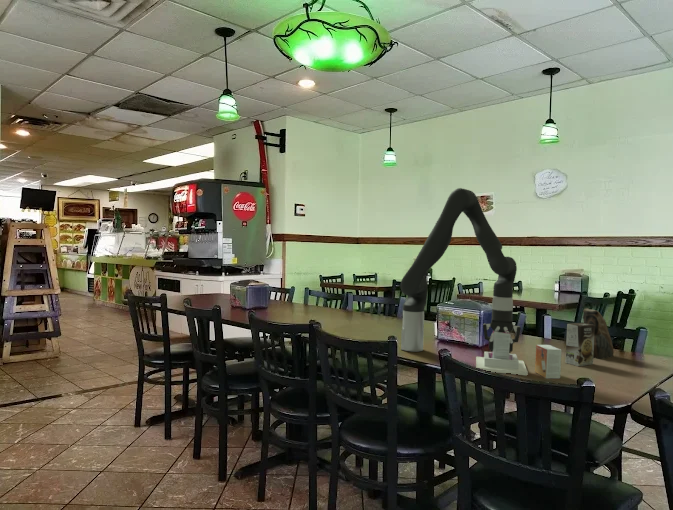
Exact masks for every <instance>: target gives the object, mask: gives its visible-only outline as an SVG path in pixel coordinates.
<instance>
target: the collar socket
mask: <svg viewBox="0 0 673 510" xmlns="http://www.w3.org/2000/svg"><path fill="white" fill-rule="evenodd" d="M483 352H484V353H483V356H476V357H475V359H476V360H475V369H476V368H480V369H483V370H486V371H491V372H490V373H495V372H496V373H497V374H506V373H511V374H510V375H516V374H518V375H517V376H519V375H520V376H527V375H529V372H528V369H527V367H526V365H525V362H524V360H519V358H518V356H517V354H516V353H509V360H508V359H496V358H492V351H483Z"/></svg>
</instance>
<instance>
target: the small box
mask: <svg viewBox="0 0 673 510" xmlns="http://www.w3.org/2000/svg"><path fill="white" fill-rule="evenodd" d="M535 346H536V347H535V361H534V363H535V364H534V365H535V366H534V373H537V374H538V375H540V376H542V378H544V379H561V371H562V369H561V368H562V367H561V366H562V351H563V350H562V349H561V348H558V347H555V346H554V345H551V344H536V345H535Z"/></svg>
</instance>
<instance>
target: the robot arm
mask: <svg viewBox="0 0 673 510" xmlns="http://www.w3.org/2000/svg"><path fill="white" fill-rule="evenodd" d="M462 213H463V214H464V215H465V217H467V218H468V219H469V221H470V223H471V225H472V228H473V230H474V235H475V238H476V241H477V242H478V243H479V245H480V247H481V249H482V250H483V252H484V253H485V256H486V259H487V262H488V265H489V267H490V269H491V270H492V272H493V273H494V274H496V275H498V278H497V280H496V281H495V282H494V284H493V291H492V292H493V293H492V303H491V321H490V323H485V322H484V323H483V324H482V325H483V326H482V327H483V336H484V340H486V341H488V349H489V350H490V352H492V351H493V339H494V333H493V332H504V333H511V331H512V330H513V329H514V332H515V335H514V338H513V337H512V336H511V334H510V348H509V354H512V352H513V349H514V348H513V347H514V346H513V345H514V344H515V343H519V339H520V334H521V326H520V325H514V324H513V315H514V313H513V312H514V311H513V310H514V309H513V308H514V302H513V300H514V299H513V295H514V292H513V291H514V290H513V289H514V284H515V280H516V275H517V271H518V270H517V269H518V268H517V262H516V260H515V259H514V258H513V257H511V256H505V255H504V253H503V251H502V249H503V245H502V243H501V241H500V239H499V238H498V236H497V235H496V233H495V232H494V231H495V230H493V229H492V226H491V225H490V223H489V221H488V219H487V217H486V215H485V214H484V211H483V209H482V207H481V203H480V202H479V200H478V198H477V195H476V193H474V192H473V190H470V189H465V188H462V187H458V188H455V189H454V190H453V191H451V193H450V194H449V196H448V197H447V200H446V202H445V204H444V206H443V209H442V211H441V214H440V215H439V217H438V219H437V221H436V222H435V225H434V226H433V228H432V230H431V232H430V233H429V235H428V236H427V238H426V240H425V242H424V244H423V245H422V247H421V248H420V251H419V252H418V254H417V256H416V258H415V259H414V262H413V263H412V265H411V266H410V267H409V269H408V270H407V272H406V273H405V274H404V276H403V277H402V279H401V281H400V290H401V292H402V294H403V295H405V296H407V299H406V301H405V302H404V303H403V305H402V327H401V339H400V341H401V343H400V344H401V345H400V350H402V351H407V352H417V353H418V352H422V351H423V350H424V334H425V333H424V332H425V331H424V330H425V329H424V328H425V307H426V305H427V299H428V281H427V279H426V277H425V275H427V272H428V271H430V269H431V268H432V267H433V266H434V265H435V264H436V263H437V262H438V261H439V260H440V259H441V258H442V257H443V255H444V254H445V253H446V251H447V249H448V248H449V247H450V244H451V242H452V237H453V231H454V226H455V224H456V222H457V220H458V218H459V216H461V214H462ZM490 328H491V330H492V333H491V335H490V336H488V330H489V329H490Z"/></svg>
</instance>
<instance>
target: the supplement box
mask: <svg viewBox="0 0 673 510" xmlns="http://www.w3.org/2000/svg"><path fill="white" fill-rule="evenodd" d="M492 333H494V339H493V351H491V352H492V358H496V359H508V360H509V354H510V353H509V348H510V335H511V332H509V333H504V332H493V331H492Z"/></svg>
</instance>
